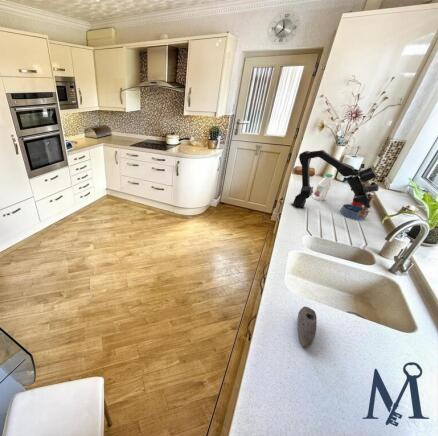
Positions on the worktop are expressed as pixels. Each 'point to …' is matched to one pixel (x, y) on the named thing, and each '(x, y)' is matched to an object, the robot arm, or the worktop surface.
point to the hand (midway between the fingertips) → (369, 207)
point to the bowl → (352, 211)
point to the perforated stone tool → (306, 326)
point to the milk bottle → (323, 187)
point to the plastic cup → (360, 203)
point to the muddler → (365, 208)
